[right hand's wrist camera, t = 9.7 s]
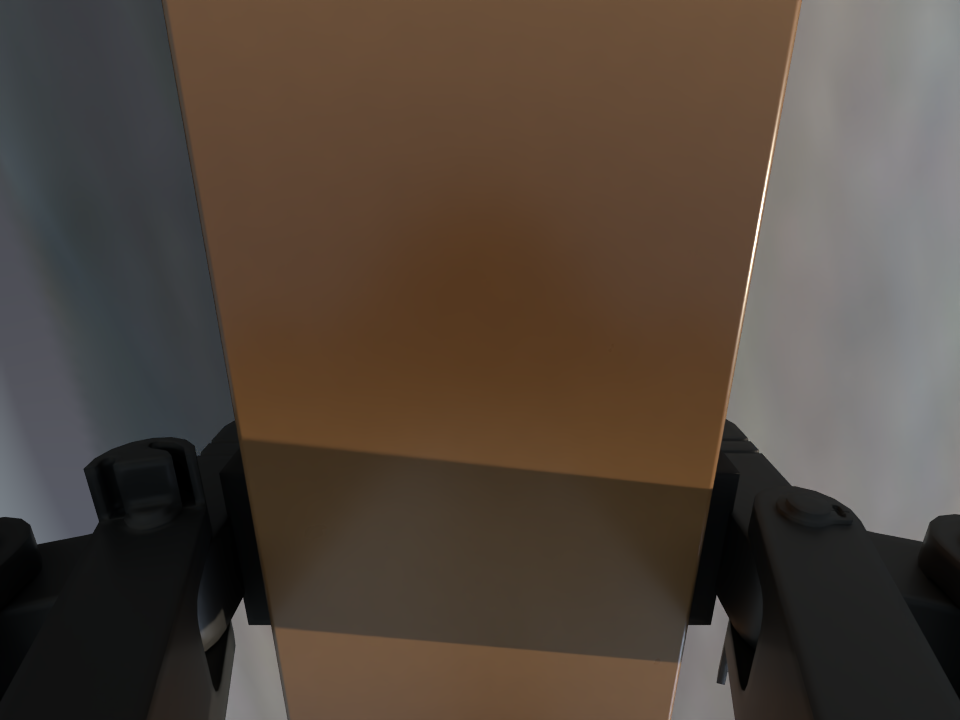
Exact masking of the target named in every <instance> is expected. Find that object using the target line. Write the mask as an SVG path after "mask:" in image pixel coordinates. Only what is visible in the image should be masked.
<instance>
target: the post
mask: <svg viewBox="0 0 960 720" xmlns="http://www.w3.org/2000/svg"><path fill="white" fill-rule="evenodd" d="M801 2H802V0H162V6H163V11H164V17H165V23H166V29H167V34H168V40H169V46H170V51H171V57H172V63H173V68H174V74H175V80H176V86H177V91H178V97H179V103H180V108H181V114H182V120H183V125H184V131H185V137H186V143H187V148H188V154H189V160H190V165H191V171H192V177H193V182H194V188H195V194H196V200H197V205H198V211H199V217H200V222H201V228H202V234H203V239H204V245H205V251H206V257H207V262H208V268H209V274H210V279H211V285H212V291H213V297H214V302H215V308H216V314H217V319H218V325H219V331H220V336H221V342H222V348H223V354H224V359H225V365H226V371H227V376H228V382H229V388H230V393H231V399H232V405H233V411H234V416H235V422H236V428H237V433H238V439H239V445H240V450H241V456H242V462H243V468H244V473H245V479H246V485H247V490H248V496H249V502H250V508H251V513H252V519H253V525H254V530H255V536H256V542H257V547H258V553H259V559H260V565H261V570H262V576H263V582H264V587H265V593H266V599H267V604H268V610H269V616H270V622H271V627H272V633H273V639H274V644H275V650H276V656H277V661H278V667H279V673H280V679H281V684H282V690H283V696H284V701H285V707H286V713H287V719H288V720H671V715H672V710H673V704H674V699H675V693H676V688H677V682H678V677H679V671H680V666H681V660H682V655H683V650H684V644H685V639H686V633H687V628H688V622H689V617H690V611H691V606H692V600H693V595H694V589H695V584H696V578H697V573H698V567H699V562H700V556H701V551H702V545H703V540H704V534H705V529H706V523H707V518H708V512H709V507H710V501H711V496H712V490H713V485H714V480H715V474H716V469H717V463H718V458H719V452H720V447H721V441H722V436H723V430H724V425H725V419H726V414H727V408H728V403H729V397H730V392H731V386H732V381H733V375H734V370H735V364H736V359H737V353H738V348H739V342H740V337H741V331H742V326H743V320H744V315H745V309H746V304H747V299H748V293H749V288H750V282H751V277H752V271H753V266H754V260H755V255H756V249H757V244H758V238H759V233H760V227H761V222H762V216H763V211H764V205H765V200H766V194H767V189H768V183H769V178H770V172H771V167H772V161H773V156H774V150H775V145H776V139H777V134H778V129H779V123H780V118H781V112H782V107H783V101H784V96H785V90H786V85H787V79H788V74H789V68H790V63H791V57H792V52H793V46H794V41H795V35H796V30H797V24H798V19H799V13H800V8H801Z"/></svg>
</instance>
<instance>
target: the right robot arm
mask: <svg viewBox="0 0 960 720" xmlns="http://www.w3.org/2000/svg"><path fill="white" fill-rule="evenodd" d="M84 472H85V476H86V479H87V482H88V486H89V489H90V492H91V496H92V499H93V503H94V506H95V509H96V513H97V516H98V519H99V523H98V525H97V527H96V529H95V530H94V532H93V534H89V535H84V536H79V537H74V538H69V539H63V540H58V541H53V542H48V543H43V544H37V543H36V540H35V537H34V534H33V532H32V529H31V526H30V524H28V523H27V522H25V521H24V520H22V519H19V518H9V517H1V518H0V720H225V717H226V710H227V703H228V695H229V688H230V681H231V674H232V667H233V660H234V653H235V638H234V632H233V627H232V622H231V619H232V617H233V615H234V613H235V611H236V609H237V608H238V606H239V604H240V602H241V600H242V598H244V603H245V609H246V614H247V619H248V624H249V625H271V622H270V616H269V610H268V604H267V599H266V593H265V587H264V582H263V576H262V570H261V565H260V559H259V553H258V547H257V542H256V536H255V530H254V525H253V519H252V513H251V508H250V502H249V496H248V490H247V485H246V479H245V473H244V468H243V462H242V456H241V450H240V445H239V439H238V433H237V428H236V422H235V421H233V422H231V423H230V424H228V425H226V426H225V427H224V428H223V429H222V430H221V431H220V432H219V433H218V434H217V435H216V436H215V438H214V439H213V440H212V443H209V444H208V445H207V446H206V447H205V448H204V450H203V451H202V452H201V456H197V455H196V451H195V446H194V445H193V444H191V443H190V442H189V441H187V440H184V439H179V438H173V437H165V438H150V439H145V440H140V441H135V442H131V443H128V444H125V445H123V446H120V447H117V448H114V449H111V450H109V451H108V452H106V453H104V454H102V455H100V456H98V457H97V458H95V459H94V460H93V461H92V462H90V463H89V464H88V465H87V466H86V467H85V468H84ZM716 595H717V596H718V598H719V600H720V602H721V604H722V606H723V608H724V610H725V611H726V613H727V615H728V617H729V622H728V627H727V632H726V637H725V641H724V646H723V651H722V656H721V660H720V665H719V670H718V677H717V683H719V684H723V685H725V681H726V676H727V672H728V673H729V680H730V687H731V694H732V701H733V708H734V715H735V720H960V515H957V514H953V515H943V516H938V517H937V518H935V519H934V520H932V521H931V522H930V523H929V526H928V529H927V532H926V535H925V538H924V541H923V542H921V541H916V540H910V539H905V538H900V537H895V536H889V535H884V534H879V533H874V532H870V531H866V529H865V528H864V526H863V524H862V522H861V521H860V519H859V518H858V517H857V516H856V515H855V514H854V513H853V511H852V510H851V509H849V508H848V507H846V506H845V505H843V504H841V503H840V502H838V501H837V500H835V499H833V498H831V497H828V496H826V495H824V494H821V493H819V492H816V491H813V490H809V489H804V488H800V487H796V486H791V485H790V484H789V483H788V481H787V480H786V479H785V478H784V477H783V476H782V475H781V474H780V473H779V472H778V471H777V469H776V468H775V467H774V466H773V465H772V464H771V463H770V462H769V461H768V460H767V459H766V458H765V456H764V455H763V454H762V453H759V450H758V449H757V448H756V447H755V446H754V444H753V443H752V442H751V441H748V438H747V437H746V436H745V435H744V434H743V432H742V431H741V430H740V429H739V428H738V427H737V426H736V425H735V424H734V423H732V422H730V421H728V420H726V419H725V425H724V430H723V436H722V441H721V447H720V452H719V458H718V463H717V469H716V474H715V480H714V485H713V490H712V496H711V501H710V507H709V512H708V518H707V523H706V529H705V534H704V540H703V545H702V551H701V556H700V562H699V567H698V573H697V578H696V584H695V589H694V595H693V600H692V606H691V611H690V617H689V622H688V625H711V621H712V616H713V611H714V605H715V600H716Z"/></svg>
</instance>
